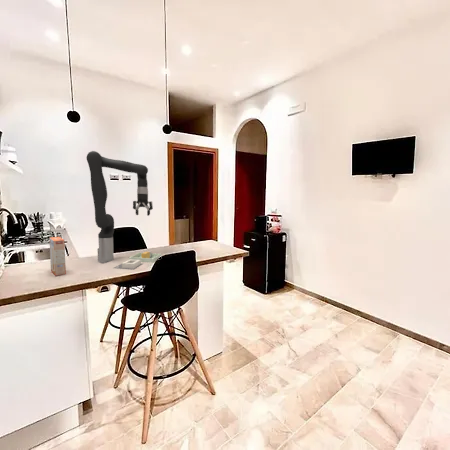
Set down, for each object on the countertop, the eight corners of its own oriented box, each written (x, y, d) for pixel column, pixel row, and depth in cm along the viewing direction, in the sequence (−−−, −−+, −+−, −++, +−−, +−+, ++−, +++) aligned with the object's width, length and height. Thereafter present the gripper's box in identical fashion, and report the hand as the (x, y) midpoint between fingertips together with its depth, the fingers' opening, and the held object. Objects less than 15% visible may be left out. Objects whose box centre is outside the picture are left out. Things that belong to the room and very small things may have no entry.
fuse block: (112, 269, 166) (112, 263, 165) (124, 263, 180) (124, 258, 179) (133, 271, 164) (133, 264, 164) (143, 265, 178) (143, 259, 177)
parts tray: (128, 262, 184) (128, 257, 183) (139, 256, 199) (139, 252, 199) (152, 263, 181) (152, 258, 181) (161, 258, 197) (161, 253, 196)
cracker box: (66, 274, 155) (64, 239, 152) (54, 276, 151) (52, 240, 148) (61, 268, 165) (60, 236, 162) (50, 270, 161) (48, 237, 158)
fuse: (147, 257, 197) (141, 260, 187) (147, 250, 196) (141, 253, 186) (151, 257, 196) (145, 260, 186) (151, 250, 196) (145, 253, 186)
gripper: (130, 192, 189) (131, 215, 191) (149, 193, 187) (149, 216, 189) (135, 192, 196) (136, 214, 198) (153, 193, 194) (154, 215, 196)
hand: (142, 215), depth 194 cm, fingers open, 8 cm apart
